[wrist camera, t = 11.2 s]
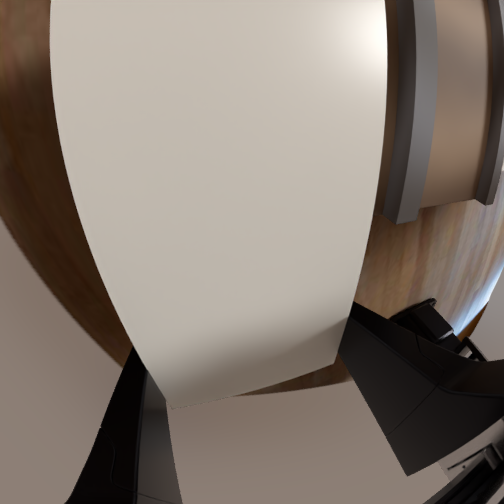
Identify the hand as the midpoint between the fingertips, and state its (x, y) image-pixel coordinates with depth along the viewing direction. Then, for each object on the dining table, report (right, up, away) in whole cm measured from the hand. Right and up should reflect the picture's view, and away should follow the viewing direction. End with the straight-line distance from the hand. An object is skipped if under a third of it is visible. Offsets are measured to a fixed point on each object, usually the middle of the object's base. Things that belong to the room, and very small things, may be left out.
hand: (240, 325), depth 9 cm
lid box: (+8, +12, +1) cm, 15 cm away
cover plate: (0, +4, -3) cm, 5 cm away
